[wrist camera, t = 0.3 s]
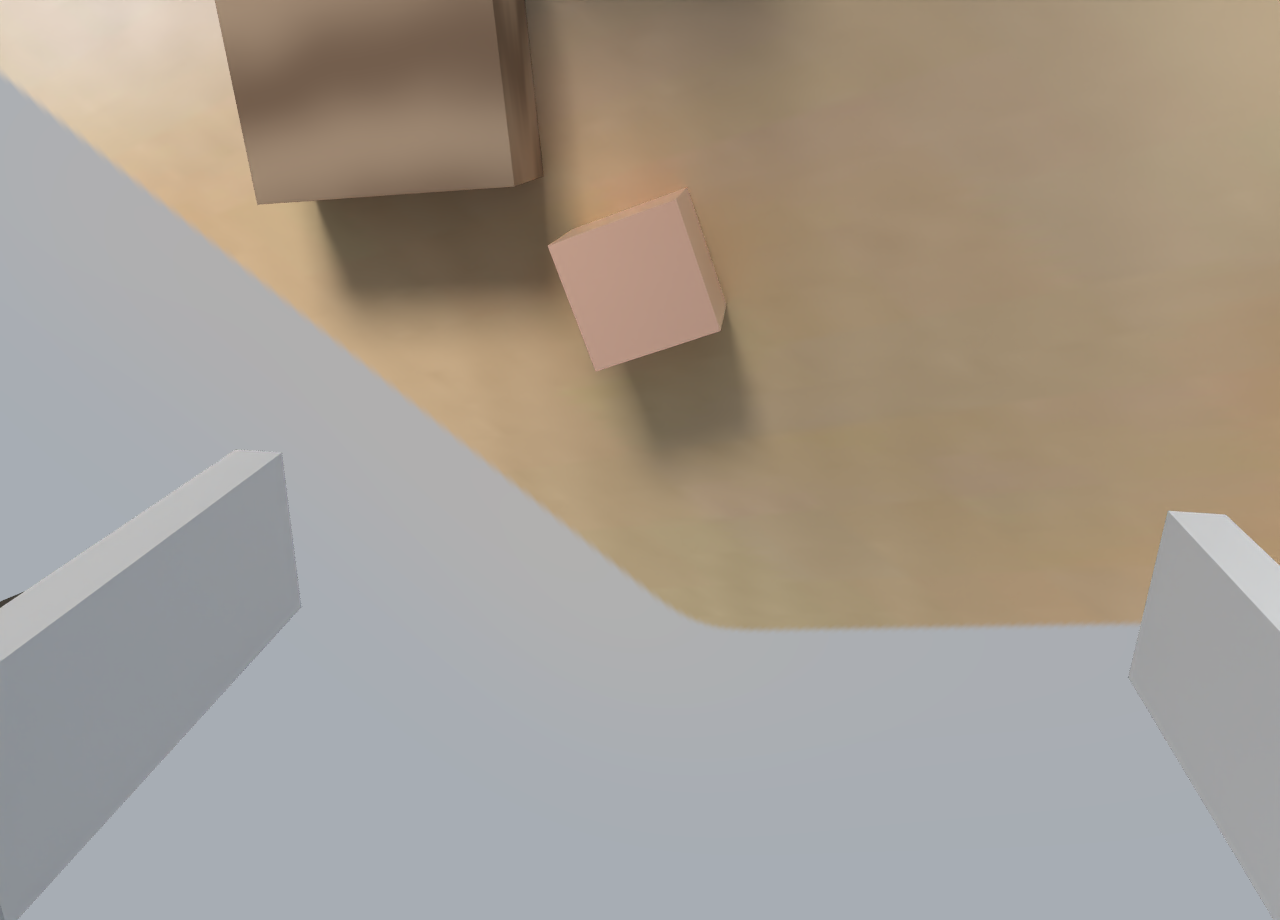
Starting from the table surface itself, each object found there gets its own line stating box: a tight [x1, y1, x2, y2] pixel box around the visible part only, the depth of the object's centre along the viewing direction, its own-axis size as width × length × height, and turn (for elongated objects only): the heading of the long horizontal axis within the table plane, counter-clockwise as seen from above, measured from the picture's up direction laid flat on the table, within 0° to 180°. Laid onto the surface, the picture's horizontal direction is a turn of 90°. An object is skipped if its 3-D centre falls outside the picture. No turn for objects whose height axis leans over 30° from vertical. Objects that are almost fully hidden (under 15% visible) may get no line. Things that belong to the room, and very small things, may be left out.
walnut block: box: [215, 0, 543, 205], centre depth 36 cm, size 10×10×5 cm
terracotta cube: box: [548, 187, 726, 371], centre depth 38 cm, size 5×5×5 cm
